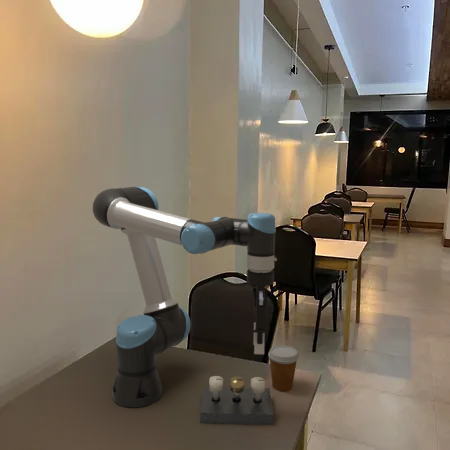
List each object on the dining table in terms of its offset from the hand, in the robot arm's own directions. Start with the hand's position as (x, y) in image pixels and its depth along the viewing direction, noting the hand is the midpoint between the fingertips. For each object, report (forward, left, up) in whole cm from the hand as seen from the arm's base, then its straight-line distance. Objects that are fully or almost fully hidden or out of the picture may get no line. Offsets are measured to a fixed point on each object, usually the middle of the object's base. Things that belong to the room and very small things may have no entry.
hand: (258, 348), depth 126 cm
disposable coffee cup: (+3, +16, -19) cm, 25 cm away
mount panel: (-6, -2, -19) cm, 20 cm away
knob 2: (0, 0, -16) cm, 16 cm away
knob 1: (-11, -4, -16) cm, 20 cm away
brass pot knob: (-6, -2, -16) cm, 17 cm away
